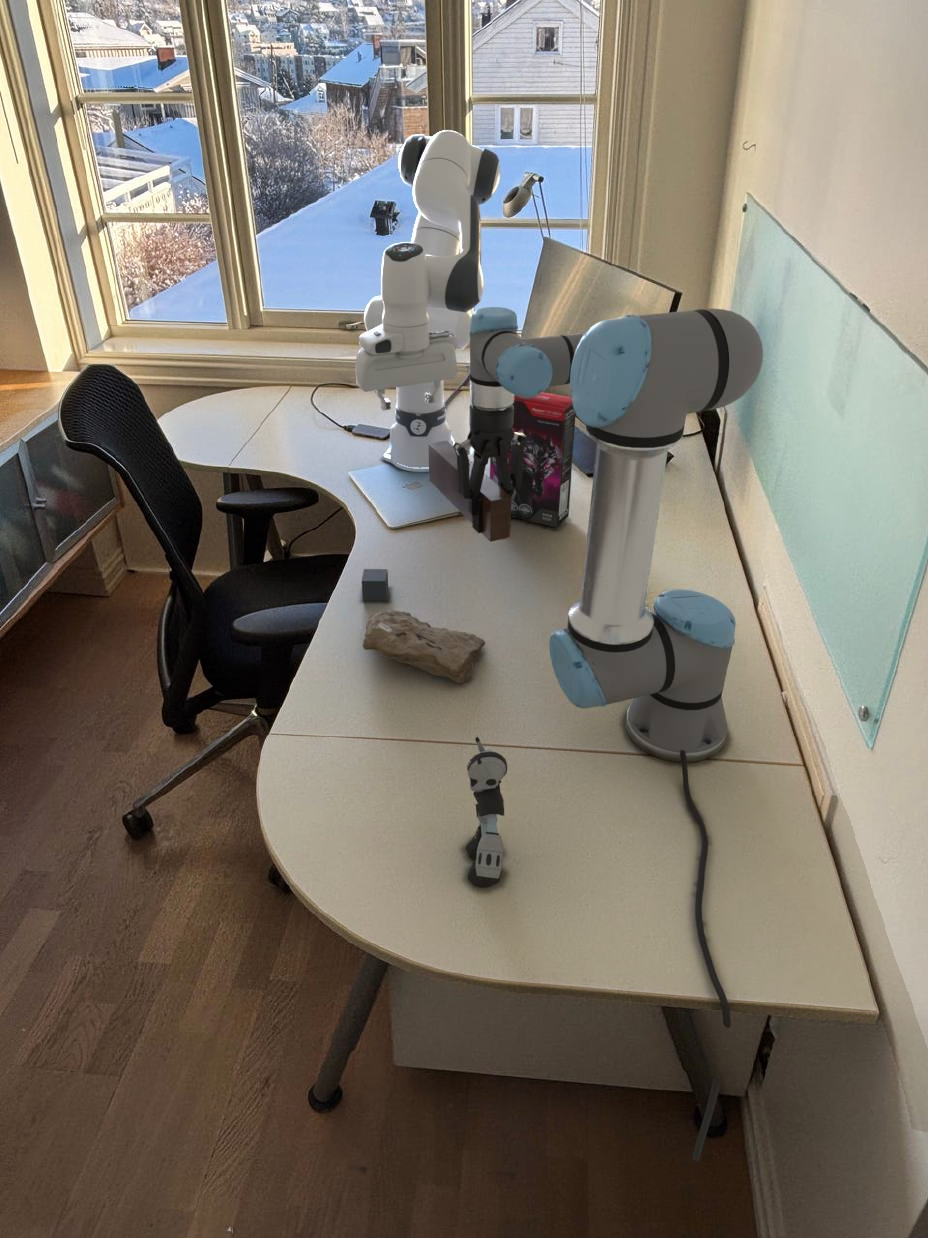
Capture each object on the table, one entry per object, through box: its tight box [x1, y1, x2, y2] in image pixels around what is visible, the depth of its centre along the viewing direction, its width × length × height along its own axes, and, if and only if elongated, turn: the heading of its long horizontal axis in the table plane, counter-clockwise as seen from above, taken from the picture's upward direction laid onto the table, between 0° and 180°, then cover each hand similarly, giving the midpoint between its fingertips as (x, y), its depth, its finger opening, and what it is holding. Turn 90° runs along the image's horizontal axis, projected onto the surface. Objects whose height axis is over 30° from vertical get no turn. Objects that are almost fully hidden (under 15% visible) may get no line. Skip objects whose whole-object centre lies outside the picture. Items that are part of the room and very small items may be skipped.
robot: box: [465, 736, 508, 888], centre depth 115 cm, size 20×5×20 cm, turn 3°
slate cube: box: [361, 568, 389, 603], centre depth 174 cm, size 4×4×4 cm
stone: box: [362, 609, 486, 684], centre depth 156 cm, size 21×15×6 cm
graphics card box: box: [489, 391, 577, 528], centre depth 195 cm, size 17×7×27 cm, turn 62°
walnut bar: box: [428, 441, 512, 542], centre depth 173 cm, size 28×4×8 cm, turn 25°
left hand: (408, 405), depth 183 cm, fingers open, 8 cm apart
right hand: (488, 526), depth 168 cm, fingers closed on walnut bar, 4 cm apart
